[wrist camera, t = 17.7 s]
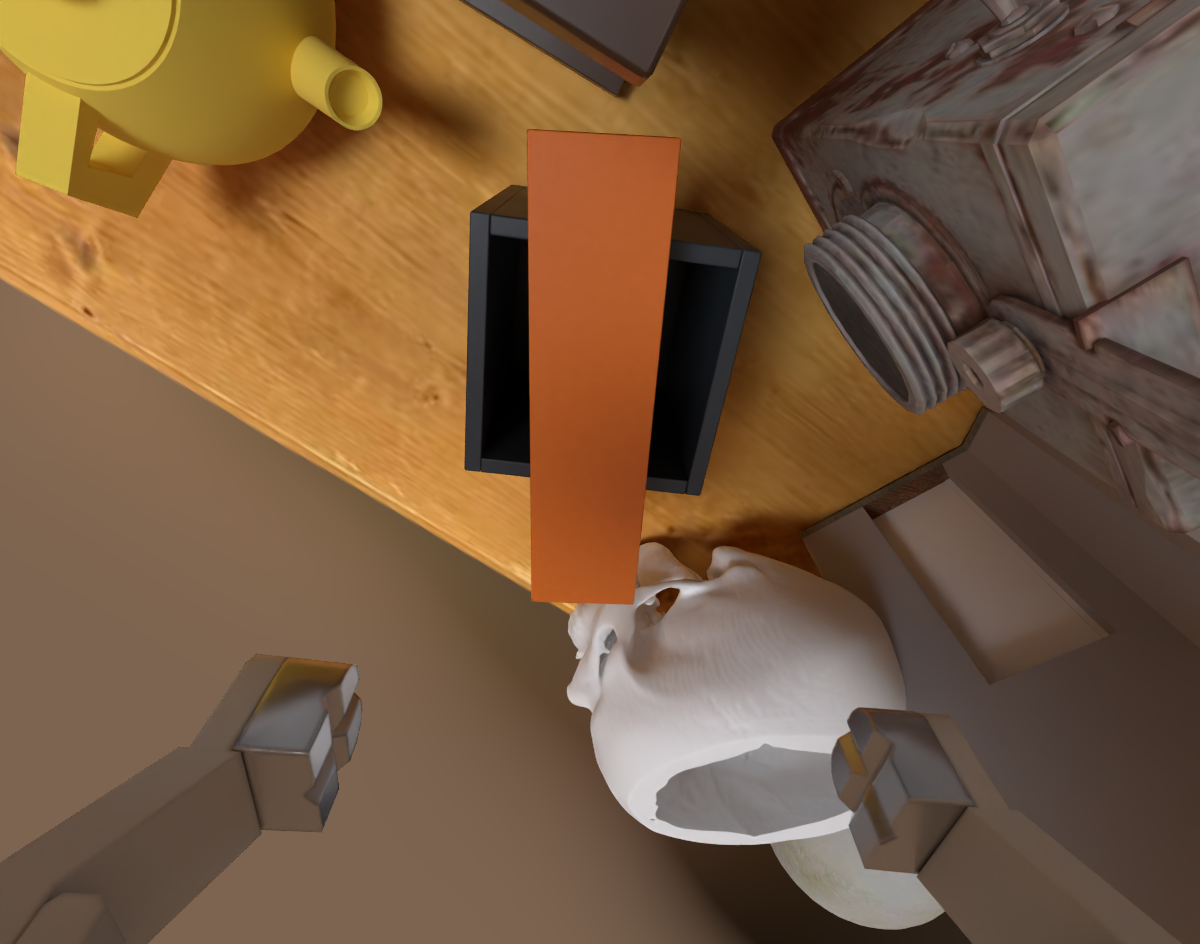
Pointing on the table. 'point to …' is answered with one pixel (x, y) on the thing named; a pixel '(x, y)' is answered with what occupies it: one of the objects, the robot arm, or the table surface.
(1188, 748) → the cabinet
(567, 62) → the stand
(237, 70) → the teapot
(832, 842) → the decorative sphere
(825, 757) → the skull
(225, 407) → the table surface
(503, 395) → the trash can
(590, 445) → the orange rectangular bar
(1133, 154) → the lantern
